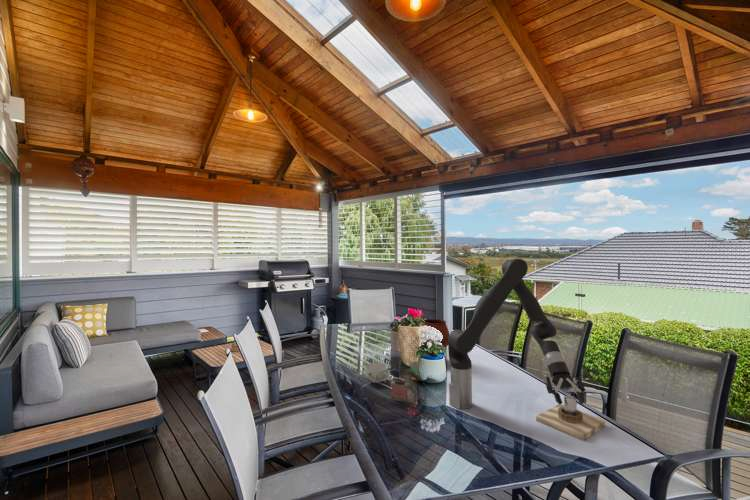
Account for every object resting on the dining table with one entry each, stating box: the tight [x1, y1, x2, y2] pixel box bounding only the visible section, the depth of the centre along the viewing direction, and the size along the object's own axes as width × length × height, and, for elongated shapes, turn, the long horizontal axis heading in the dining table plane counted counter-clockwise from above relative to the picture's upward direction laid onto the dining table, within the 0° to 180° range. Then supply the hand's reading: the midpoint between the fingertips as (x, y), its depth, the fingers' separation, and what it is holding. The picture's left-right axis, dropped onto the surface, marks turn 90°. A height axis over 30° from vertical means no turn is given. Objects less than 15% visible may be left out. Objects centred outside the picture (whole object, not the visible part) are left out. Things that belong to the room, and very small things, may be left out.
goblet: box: [422, 318, 450, 349], centre depth 217 cm, size 19×19×25 cm
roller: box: [563, 395, 578, 416], centre depth 140 cm, size 4×4×8 cm
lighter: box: [390, 376, 409, 402], centre depth 164 cm, size 8×3×10 cm, turn 65°
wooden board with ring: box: [535, 403, 606, 442], centre depth 140 cm, size 18×18×4 cm
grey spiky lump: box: [364, 361, 389, 384], centre depth 185 cm, size 15×12×8 cm
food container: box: [408, 360, 421, 382], centre depth 187 cm, size 12×6×10 cm, turn 117°
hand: (571, 403), depth 139 cm, fingers open, 8 cm apart
